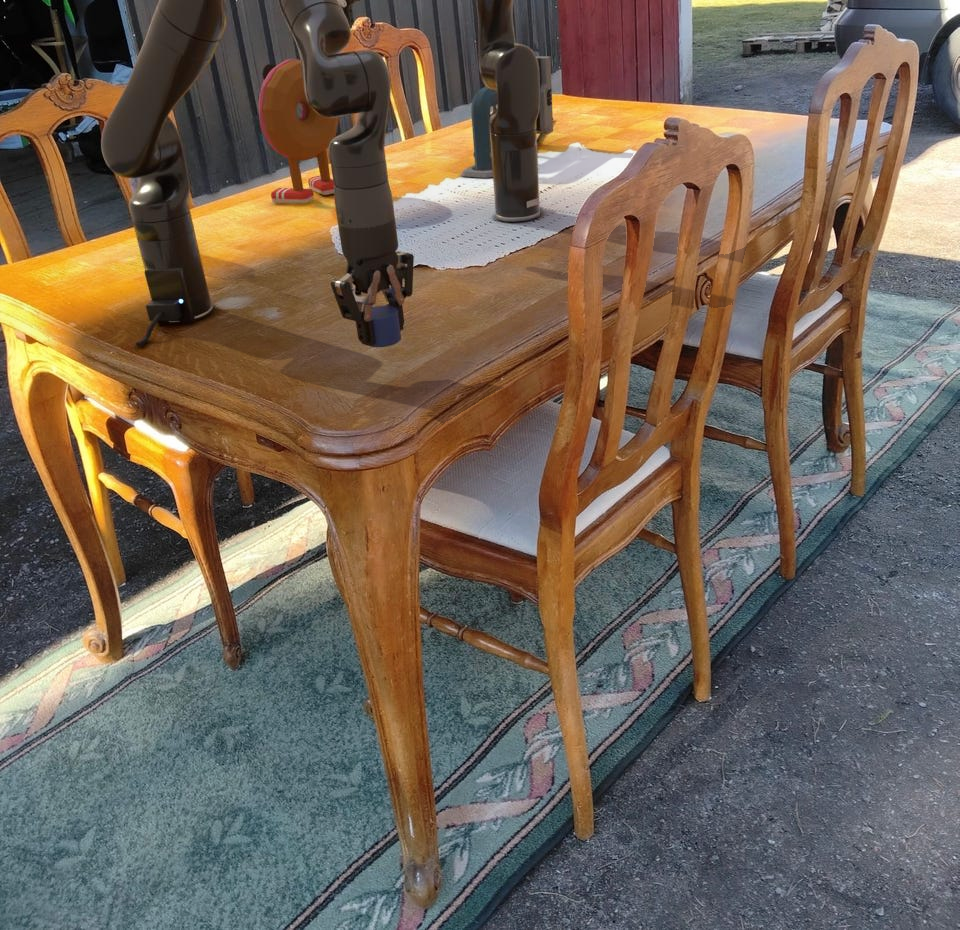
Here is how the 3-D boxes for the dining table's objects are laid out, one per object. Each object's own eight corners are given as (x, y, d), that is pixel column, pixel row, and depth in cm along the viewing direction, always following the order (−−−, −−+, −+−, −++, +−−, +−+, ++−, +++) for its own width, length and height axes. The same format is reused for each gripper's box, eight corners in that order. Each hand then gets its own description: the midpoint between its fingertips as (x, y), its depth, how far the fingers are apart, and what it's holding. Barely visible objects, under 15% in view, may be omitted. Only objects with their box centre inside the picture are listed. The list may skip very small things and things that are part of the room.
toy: (329, 182, 236) (308, 50, 220) (358, 186, 230) (339, 51, 215) (260, 205, 222) (234, 66, 207) (289, 210, 216) (264, 67, 201)
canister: (371, 332, 138) (367, 305, 136) (405, 333, 137) (402, 305, 135) (360, 347, 134) (355, 319, 131) (395, 347, 132) (391, 319, 130)
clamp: (490, 178, 228) (484, 82, 217) (458, 176, 232) (450, 81, 221) (553, 143, 254) (550, 56, 243) (523, 142, 258) (519, 56, 247)
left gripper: (346, 236, 120) (365, 361, 128) (423, 205, 129) (436, 324, 137) (305, 228, 124) (327, 350, 132) (383, 199, 133) (398, 314, 142)
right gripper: (269, -65, 173) (285, 33, 181) (338, -70, 168) (351, 31, 176) (292, -68, 179) (306, 27, 187) (359, -73, 174) (371, 25, 182)
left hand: (382, 336), depth 135 cm, fingers closed on canister, 5 cm apart
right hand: (328, 29), depth 182 cm, fingers open, 8 cm apart
